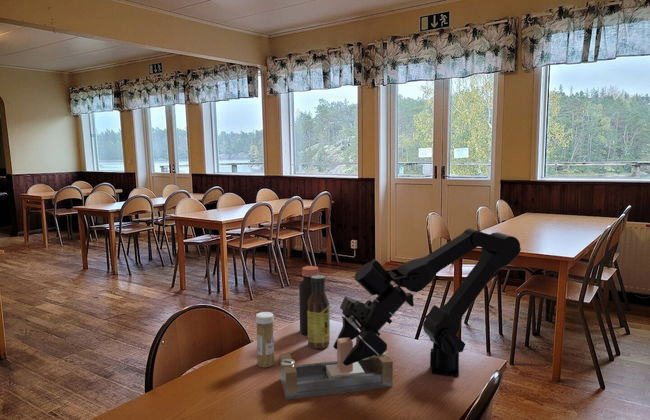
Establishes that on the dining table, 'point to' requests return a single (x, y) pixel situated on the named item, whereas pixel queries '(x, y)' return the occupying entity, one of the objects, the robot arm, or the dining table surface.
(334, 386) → the rail
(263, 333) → the sprinkles bottle
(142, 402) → the dining table surface
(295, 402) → the dining table surface
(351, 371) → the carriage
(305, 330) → the vinegar
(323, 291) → the sauce bottle
